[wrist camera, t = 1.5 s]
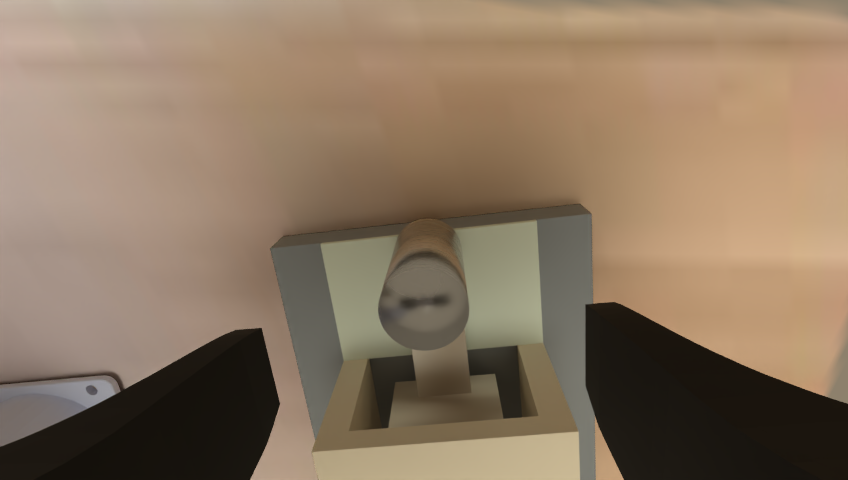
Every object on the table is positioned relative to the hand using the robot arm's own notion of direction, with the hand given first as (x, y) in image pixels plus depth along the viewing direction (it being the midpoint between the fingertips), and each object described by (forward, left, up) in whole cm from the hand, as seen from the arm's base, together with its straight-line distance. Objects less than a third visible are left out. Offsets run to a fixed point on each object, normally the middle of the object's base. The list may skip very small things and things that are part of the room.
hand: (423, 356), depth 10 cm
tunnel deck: (0, -7, -9) cm, 11 cm away
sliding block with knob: (0, -4, -7) cm, 8 cm away
